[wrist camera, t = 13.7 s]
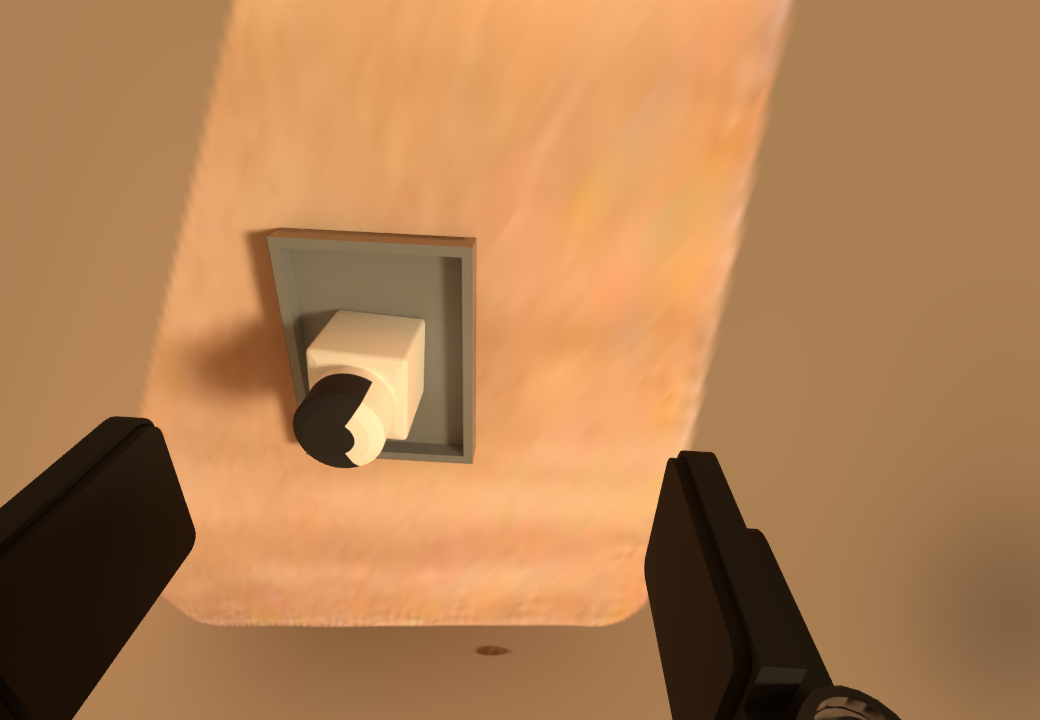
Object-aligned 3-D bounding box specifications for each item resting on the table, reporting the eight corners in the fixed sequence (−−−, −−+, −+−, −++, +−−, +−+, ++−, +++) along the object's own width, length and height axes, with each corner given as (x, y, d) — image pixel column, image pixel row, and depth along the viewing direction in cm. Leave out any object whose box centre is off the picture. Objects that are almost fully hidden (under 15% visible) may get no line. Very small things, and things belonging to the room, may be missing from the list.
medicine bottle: (342, 383, 48) (285, 475, 37) (337, 307, 44) (273, 386, 34) (424, 392, 48) (391, 486, 37) (426, 317, 44) (389, 398, 34)
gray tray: (280, 227, 42) (266, 236, 40) (476, 238, 42) (472, 247, 40) (316, 438, 52) (306, 454, 49) (475, 447, 51) (472, 463, 49)
